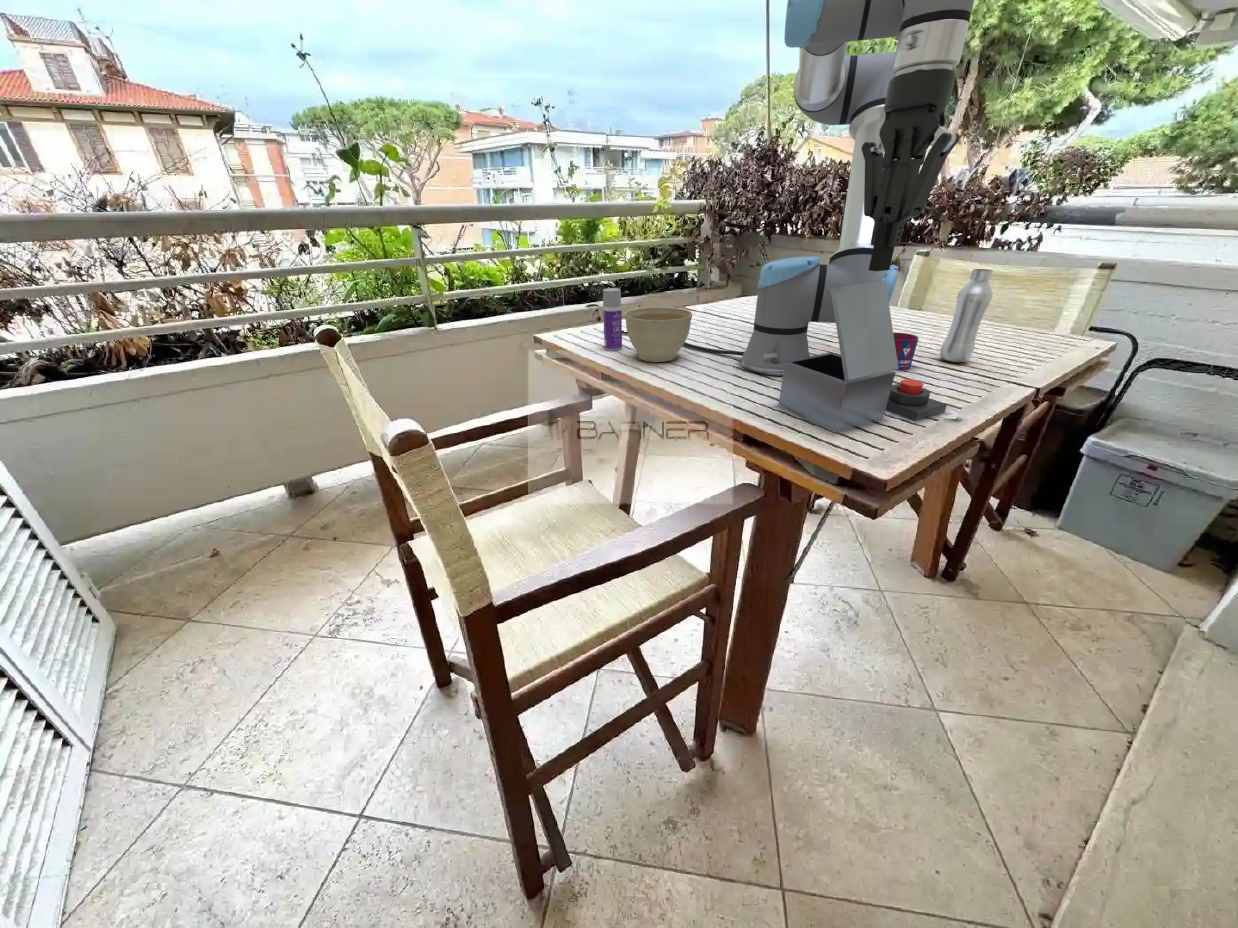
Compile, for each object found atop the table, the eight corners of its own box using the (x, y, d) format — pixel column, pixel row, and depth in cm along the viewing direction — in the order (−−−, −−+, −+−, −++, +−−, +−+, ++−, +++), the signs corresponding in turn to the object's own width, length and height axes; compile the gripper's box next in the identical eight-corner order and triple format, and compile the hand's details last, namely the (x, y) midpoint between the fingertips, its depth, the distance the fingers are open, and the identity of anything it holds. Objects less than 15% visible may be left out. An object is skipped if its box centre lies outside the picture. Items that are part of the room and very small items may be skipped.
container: (615, 351, 126) (614, 291, 119) (601, 349, 128) (598, 290, 121) (625, 347, 129) (624, 288, 122) (610, 345, 132) (609, 287, 124)
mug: (886, 370, 108) (894, 340, 105) (866, 357, 117) (872, 329, 113) (916, 370, 108) (925, 339, 105) (893, 357, 117) (900, 328, 113)
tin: (777, 406, 91) (784, 361, 87) (822, 395, 96) (831, 352, 91) (835, 433, 80) (846, 383, 76) (882, 420, 85) (895, 371, 81)
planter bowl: (703, 358, 119) (706, 313, 114) (652, 371, 111) (653, 323, 106) (661, 345, 131) (662, 303, 125) (612, 356, 123) (611, 312, 117)
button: (893, 390, 89) (896, 381, 88) (906, 387, 90) (909, 378, 89) (911, 396, 86) (914, 387, 85) (924, 393, 87) (927, 383, 86)
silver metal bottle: (960, 357, 116) (990, 267, 106) (975, 365, 110) (1008, 272, 100) (932, 356, 116) (958, 268, 107) (945, 365, 110) (975, 272, 101)
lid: (830, 289, 75) (834, 287, 74) (881, 282, 79) (885, 281, 78) (844, 381, 76) (849, 380, 76) (894, 369, 81) (898, 368, 80)
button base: (866, 403, 92) (870, 385, 90) (894, 395, 95) (899, 378, 93) (915, 421, 84) (921, 403, 82) (944, 412, 87) (950, 394, 85)
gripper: (859, 81, 65) (826, 267, 77) (955, 58, 55) (901, 277, 66) (896, 84, 68) (859, 264, 80) (994, 64, 58) (936, 273, 69)
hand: (878, 270), depth 73 cm, fingers closed
